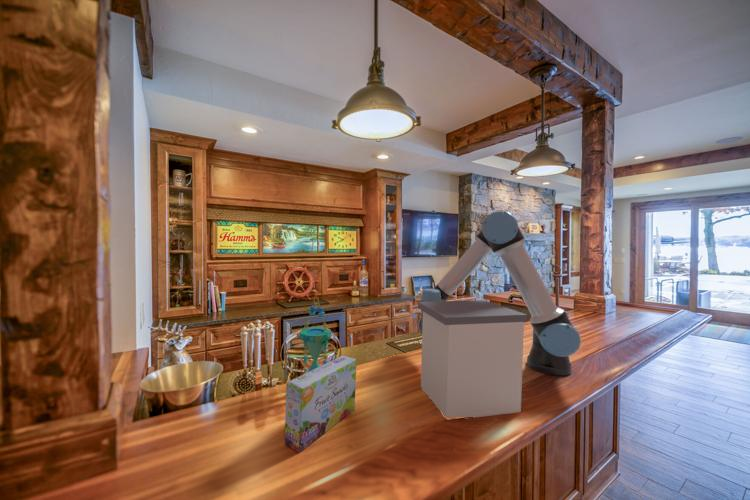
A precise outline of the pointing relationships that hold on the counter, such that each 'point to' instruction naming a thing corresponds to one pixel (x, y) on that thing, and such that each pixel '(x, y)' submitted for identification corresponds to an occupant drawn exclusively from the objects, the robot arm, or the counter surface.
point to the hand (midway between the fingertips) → (472, 359)
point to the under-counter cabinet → (472, 357)
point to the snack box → (319, 401)
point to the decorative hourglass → (315, 339)
